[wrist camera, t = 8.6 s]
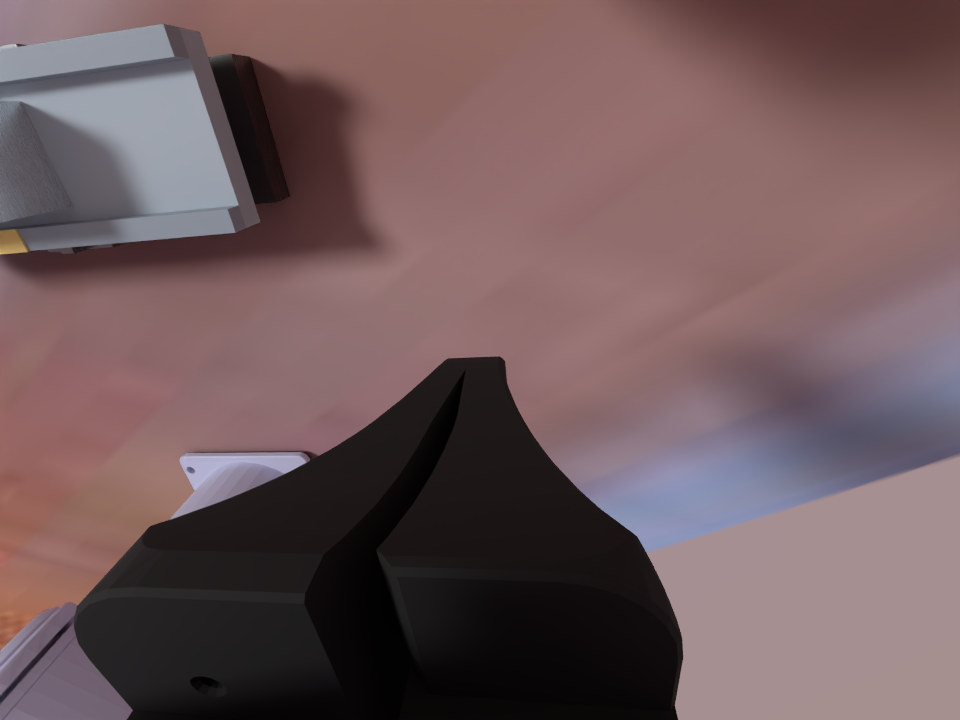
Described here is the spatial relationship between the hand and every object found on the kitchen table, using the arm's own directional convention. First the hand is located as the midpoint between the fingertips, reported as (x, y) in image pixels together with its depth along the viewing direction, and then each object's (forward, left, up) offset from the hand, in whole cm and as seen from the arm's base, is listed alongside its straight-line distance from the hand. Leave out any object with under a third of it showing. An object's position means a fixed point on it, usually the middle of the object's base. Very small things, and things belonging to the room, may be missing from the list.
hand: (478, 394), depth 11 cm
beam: (+6, +18, -8) cm, 21 cm away
